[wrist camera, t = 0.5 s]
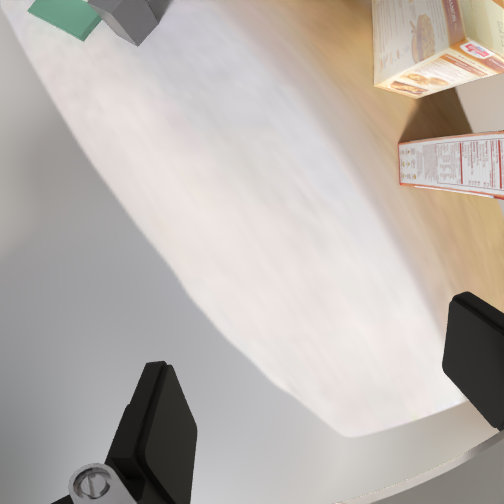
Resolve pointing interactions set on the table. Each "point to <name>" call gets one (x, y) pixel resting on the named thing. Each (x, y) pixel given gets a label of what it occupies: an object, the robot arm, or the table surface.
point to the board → (67, 16)
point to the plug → (126, 18)
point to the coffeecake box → (436, 43)
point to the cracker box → (455, 163)
